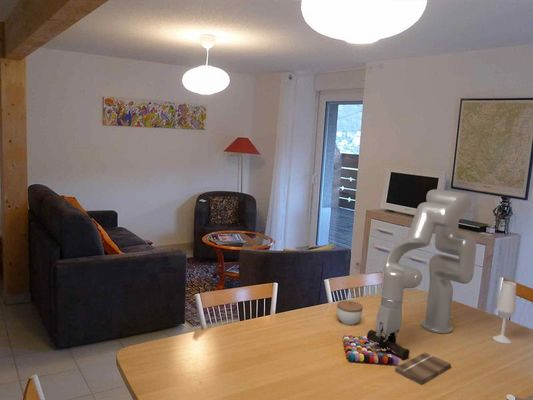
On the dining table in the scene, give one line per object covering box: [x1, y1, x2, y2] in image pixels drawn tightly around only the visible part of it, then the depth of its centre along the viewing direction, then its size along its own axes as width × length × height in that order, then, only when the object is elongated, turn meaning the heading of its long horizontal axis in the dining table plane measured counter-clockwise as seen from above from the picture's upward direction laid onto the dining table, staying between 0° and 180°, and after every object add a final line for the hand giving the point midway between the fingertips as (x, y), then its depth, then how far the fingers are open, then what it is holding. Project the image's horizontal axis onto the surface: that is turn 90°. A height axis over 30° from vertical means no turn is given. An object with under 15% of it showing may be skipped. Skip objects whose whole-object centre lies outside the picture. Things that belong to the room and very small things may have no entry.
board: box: [394, 352, 452, 385], centre depth 157 cm, size 19×10×2 cm, turn 131°
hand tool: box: [366, 329, 410, 361], centre depth 171 cm, size 19×4×5 cm, turn 32°
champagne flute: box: [492, 280, 517, 344], centre depth 184 cm, size 7×7×24 cm
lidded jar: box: [336, 300, 364, 326], centre depth 194 cm, size 11×11×9 cm
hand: (386, 348), depth 170 cm, fingers open, 4 cm apart
